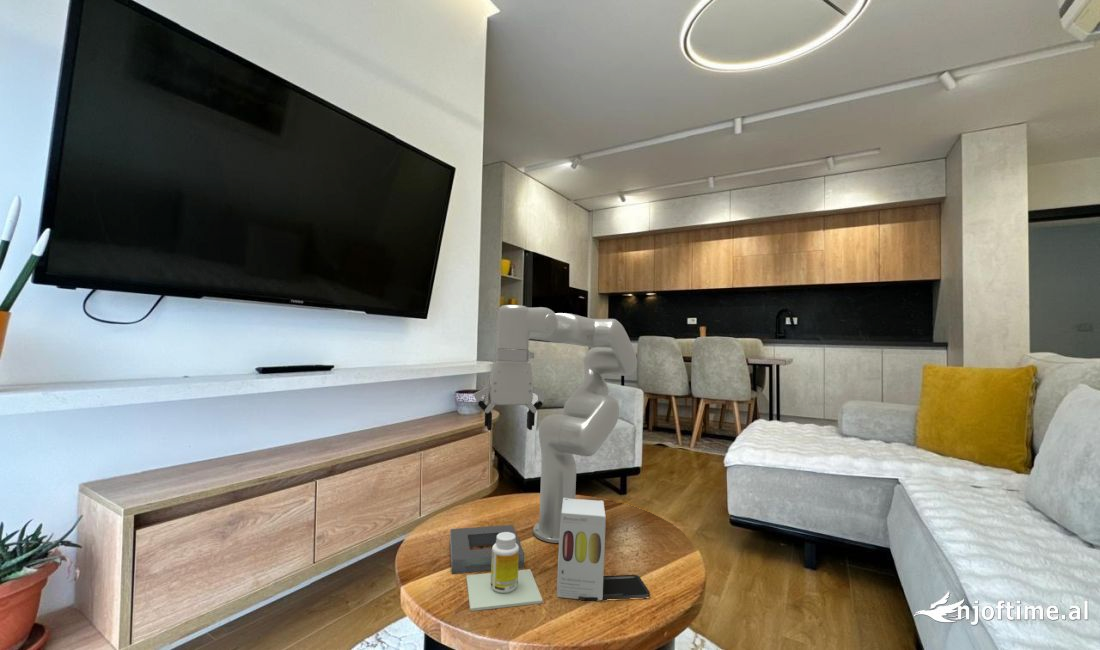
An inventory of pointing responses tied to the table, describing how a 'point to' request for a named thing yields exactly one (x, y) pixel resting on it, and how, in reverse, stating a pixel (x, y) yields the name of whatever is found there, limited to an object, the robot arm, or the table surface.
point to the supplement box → (581, 549)
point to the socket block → (477, 558)
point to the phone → (621, 588)
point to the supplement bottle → (504, 563)
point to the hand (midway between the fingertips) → (509, 429)
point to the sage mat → (490, 599)
